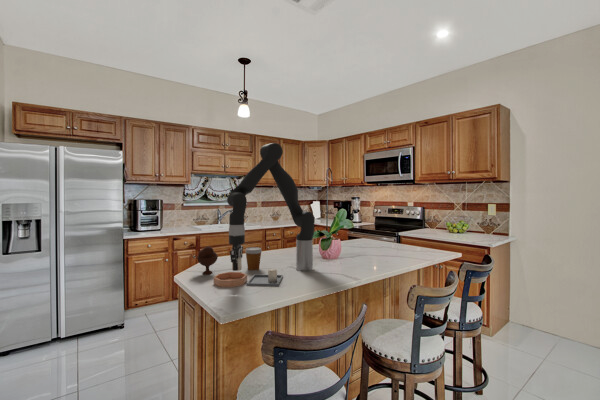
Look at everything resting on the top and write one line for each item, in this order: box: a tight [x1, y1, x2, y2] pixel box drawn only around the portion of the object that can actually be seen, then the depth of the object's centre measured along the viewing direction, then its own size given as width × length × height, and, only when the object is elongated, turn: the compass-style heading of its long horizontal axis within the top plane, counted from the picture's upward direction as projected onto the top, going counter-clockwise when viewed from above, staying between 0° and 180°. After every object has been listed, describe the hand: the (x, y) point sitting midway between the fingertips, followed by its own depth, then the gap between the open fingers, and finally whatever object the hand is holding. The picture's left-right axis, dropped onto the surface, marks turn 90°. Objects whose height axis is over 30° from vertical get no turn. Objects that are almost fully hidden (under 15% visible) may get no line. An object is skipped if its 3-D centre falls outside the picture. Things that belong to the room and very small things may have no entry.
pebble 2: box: [267, 268, 278, 283], centre depth 145 cm, size 4×4×6 cm
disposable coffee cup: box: [244, 246, 263, 271], centre depth 169 cm, size 10×10×12 cm
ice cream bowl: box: [196, 245, 219, 276], centre depth 161 cm, size 11×11×15 cm
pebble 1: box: [231, 257, 243, 272], centre depth 144 cm, size 4×4×6 cm
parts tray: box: [245, 273, 284, 287], centre depth 146 cm, size 15×15×2 cm
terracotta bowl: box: [213, 271, 248, 288], centre depth 144 cm, size 15×15×4 cm
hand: (236, 268), depth 144 cm, fingers closed on pebble 1, 4 cm apart
